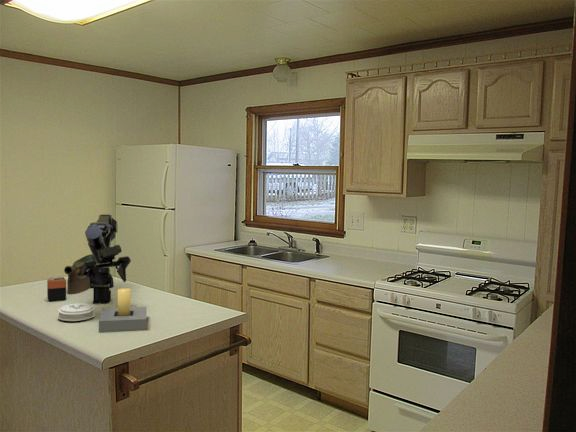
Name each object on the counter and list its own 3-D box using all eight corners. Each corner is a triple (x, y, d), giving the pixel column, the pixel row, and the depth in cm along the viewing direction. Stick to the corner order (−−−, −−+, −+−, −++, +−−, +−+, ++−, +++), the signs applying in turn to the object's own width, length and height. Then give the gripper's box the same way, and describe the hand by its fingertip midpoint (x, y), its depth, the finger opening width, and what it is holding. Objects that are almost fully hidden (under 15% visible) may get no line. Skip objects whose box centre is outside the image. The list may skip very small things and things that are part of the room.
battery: (66, 300, 208) (66, 277, 207) (48, 302, 204) (48, 278, 204) (64, 298, 212) (64, 275, 211) (47, 299, 208) (47, 276, 207)
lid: (58, 315, 189) (58, 302, 188) (93, 312, 194) (93, 300, 193) (58, 324, 177) (58, 311, 177) (95, 321, 182) (95, 308, 182)
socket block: (98, 332, 171) (98, 321, 170) (102, 318, 186) (102, 308, 185) (146, 329, 175) (146, 319, 175) (146, 316, 190) (146, 306, 190)
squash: (59, 272, 237) (75, 251, 232) (83, 268, 250) (98, 248, 246) (74, 294, 233) (91, 273, 228) (98, 289, 247) (114, 269, 242)
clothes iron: (58, 295, 215) (58, 265, 214) (74, 287, 231) (74, 259, 230) (76, 296, 215) (76, 266, 214) (90, 287, 231) (90, 259, 230)
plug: (117, 323, 178) (117, 291, 177) (117, 319, 182) (118, 288, 181) (129, 322, 179) (130, 290, 178) (130, 319, 183) (130, 287, 182)
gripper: (84, 240, 181) (99, 275, 175) (128, 236, 195) (144, 268, 190) (73, 258, 187) (88, 292, 181) (117, 252, 201) (132, 283, 196)
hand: (114, 283), depth 187 cm, fingers open, 9 cm apart
